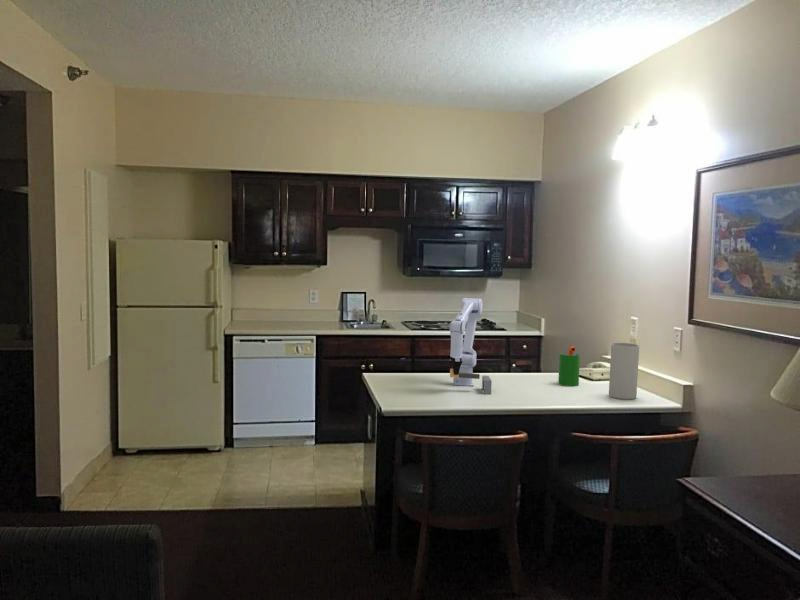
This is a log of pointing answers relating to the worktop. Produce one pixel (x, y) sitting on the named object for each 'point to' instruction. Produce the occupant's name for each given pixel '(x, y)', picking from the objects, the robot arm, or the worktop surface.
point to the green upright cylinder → (569, 368)
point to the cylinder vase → (623, 371)
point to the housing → (486, 384)
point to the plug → (464, 375)
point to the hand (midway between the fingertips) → (455, 373)
